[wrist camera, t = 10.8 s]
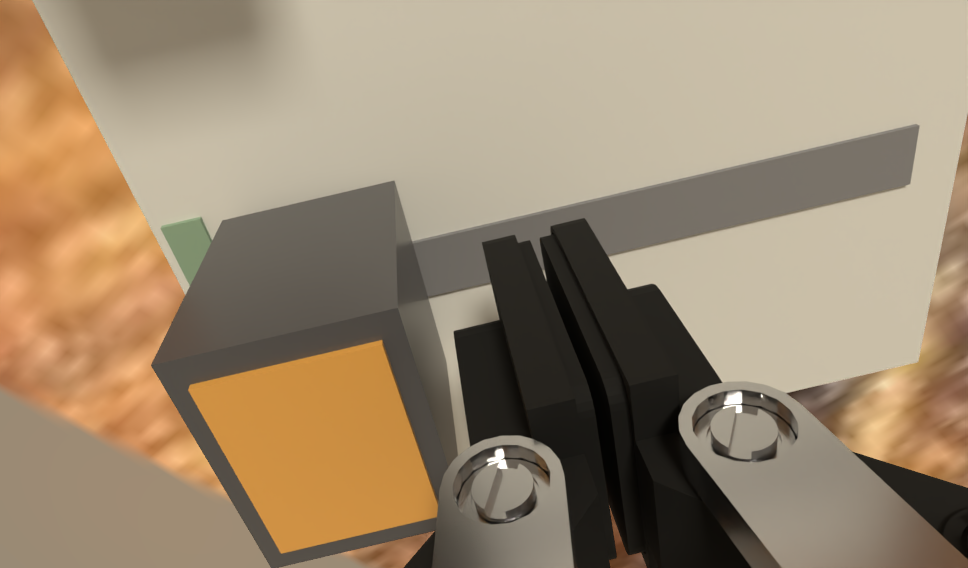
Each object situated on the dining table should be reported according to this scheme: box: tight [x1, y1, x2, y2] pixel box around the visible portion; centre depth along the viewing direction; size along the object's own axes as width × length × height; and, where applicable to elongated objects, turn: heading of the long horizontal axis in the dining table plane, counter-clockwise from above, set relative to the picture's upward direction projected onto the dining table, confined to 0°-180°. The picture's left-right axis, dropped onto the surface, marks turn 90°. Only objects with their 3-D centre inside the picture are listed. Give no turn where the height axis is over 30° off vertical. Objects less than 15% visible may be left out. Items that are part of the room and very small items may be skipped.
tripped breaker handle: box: [151, 180, 458, 568], centre depth 11 cm, size 3×4×4 cm
